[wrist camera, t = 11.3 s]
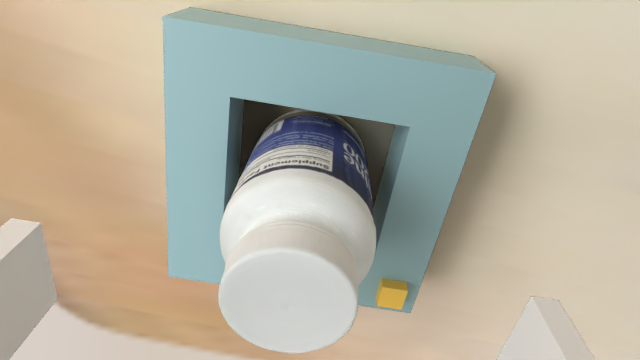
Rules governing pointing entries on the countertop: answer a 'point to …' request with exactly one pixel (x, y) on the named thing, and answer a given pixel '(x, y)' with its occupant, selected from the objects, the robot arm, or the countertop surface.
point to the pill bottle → (298, 235)
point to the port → (323, 96)
